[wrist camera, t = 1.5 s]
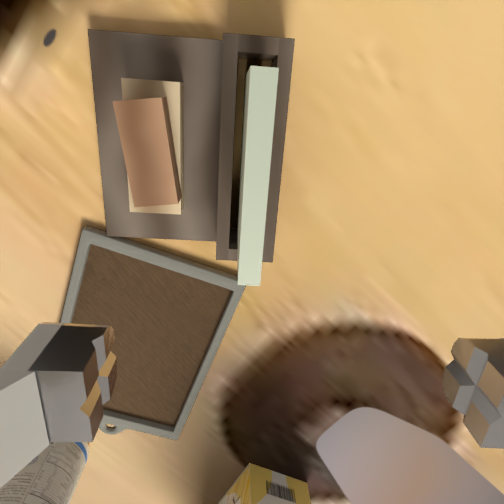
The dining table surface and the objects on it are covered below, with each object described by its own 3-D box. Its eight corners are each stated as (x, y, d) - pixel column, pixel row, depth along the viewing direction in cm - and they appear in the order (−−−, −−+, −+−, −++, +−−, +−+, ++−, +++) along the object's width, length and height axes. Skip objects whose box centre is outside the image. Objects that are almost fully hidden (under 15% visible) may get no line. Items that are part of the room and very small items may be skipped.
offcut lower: (183, 82, 34) (179, 82, 32) (184, 207, 39) (180, 214, 37) (128, 78, 34) (121, 77, 32) (136, 204, 39) (129, 211, 37)
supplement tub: (59, 474, 56) (4, 595, 43) (9, 440, 53) (-69, 558, 40) (105, 446, 54) (62, 563, 41) (56, 408, 51) (-9, 522, 38)
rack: (285, 46, 35) (294, 38, 29) (267, 240, 42) (272, 262, 37) (92, 31, 34) (64, 19, 28) (110, 232, 41) (91, 253, 36)
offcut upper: (166, 97, 33) (161, 97, 30) (181, 196, 36) (178, 203, 34) (121, 100, 33) (112, 101, 30) (140, 199, 36) (134, 207, 34)
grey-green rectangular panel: (261, 77, 36) (278, 67, 21) (252, 216, 41) (259, 285, 26) (245, 76, 35) (250, 65, 21) (237, 215, 41) (237, 284, 26)
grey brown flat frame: (247, 283, 43) (171, 453, 54) (247, 277, 45) (173, 444, 55) (81, 227, 40) (36, 421, 51) (87, 222, 41) (42, 411, 52)
